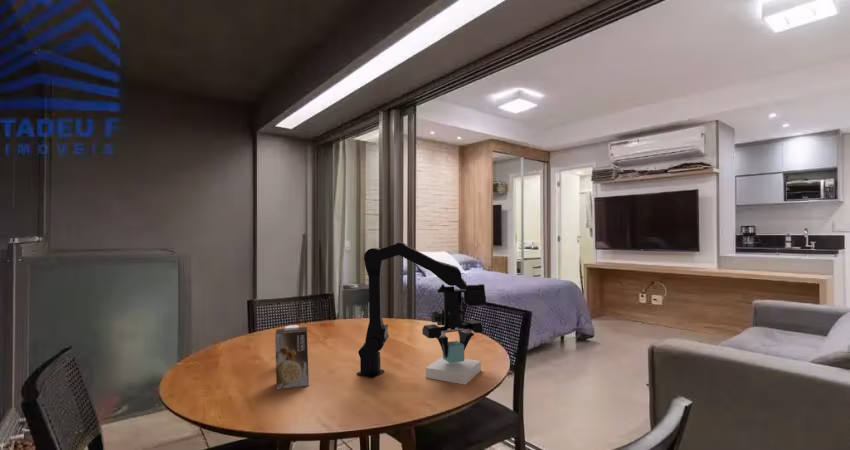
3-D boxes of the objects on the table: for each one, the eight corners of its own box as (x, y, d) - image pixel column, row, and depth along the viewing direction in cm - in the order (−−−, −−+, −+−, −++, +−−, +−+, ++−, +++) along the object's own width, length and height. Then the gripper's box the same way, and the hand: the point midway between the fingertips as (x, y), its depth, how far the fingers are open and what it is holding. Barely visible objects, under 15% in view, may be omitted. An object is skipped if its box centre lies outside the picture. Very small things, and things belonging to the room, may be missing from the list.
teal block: (449, 363, 120) (449, 346, 120) (442, 358, 125) (442, 342, 125) (464, 361, 122) (464, 344, 122) (457, 356, 127) (456, 340, 127)
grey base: (465, 384, 115) (465, 374, 115) (425, 377, 121) (425, 367, 121) (480, 370, 126) (480, 361, 126) (444, 364, 132) (443, 355, 132)
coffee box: (309, 378, 122) (308, 326, 122) (308, 386, 116) (308, 331, 116) (277, 382, 119) (276, 328, 120) (275, 390, 113) (274, 333, 113)
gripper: (466, 300, 135) (467, 346, 134) (415, 304, 128) (416, 353, 127) (483, 305, 124) (484, 355, 124) (429, 310, 117) (429, 363, 117)
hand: (453, 356), depth 123 cm, fingers closed on teal block, 5 cm apart
